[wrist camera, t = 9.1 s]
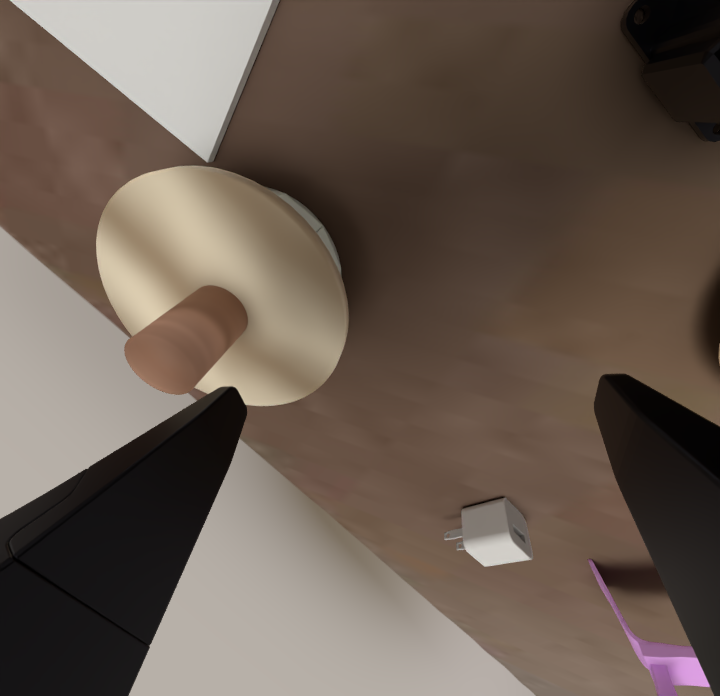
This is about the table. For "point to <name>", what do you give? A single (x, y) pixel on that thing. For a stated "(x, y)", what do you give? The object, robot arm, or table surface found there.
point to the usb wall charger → (493, 533)
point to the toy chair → (661, 655)
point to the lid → (221, 286)
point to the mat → (166, 55)
